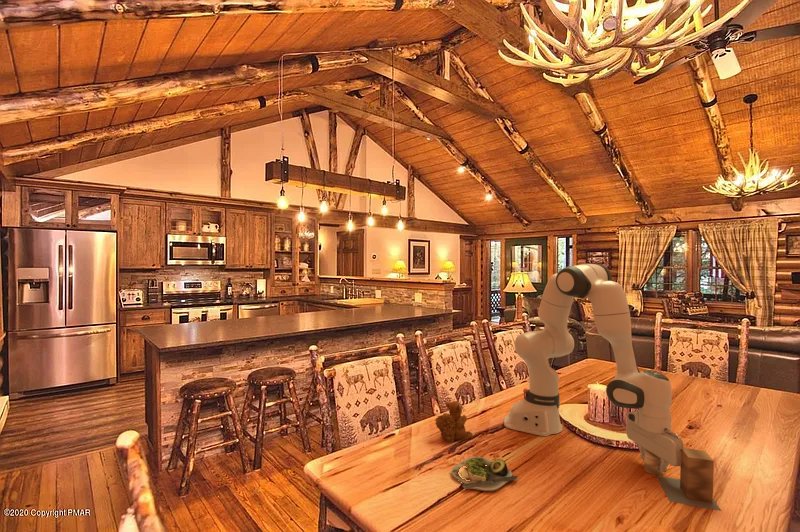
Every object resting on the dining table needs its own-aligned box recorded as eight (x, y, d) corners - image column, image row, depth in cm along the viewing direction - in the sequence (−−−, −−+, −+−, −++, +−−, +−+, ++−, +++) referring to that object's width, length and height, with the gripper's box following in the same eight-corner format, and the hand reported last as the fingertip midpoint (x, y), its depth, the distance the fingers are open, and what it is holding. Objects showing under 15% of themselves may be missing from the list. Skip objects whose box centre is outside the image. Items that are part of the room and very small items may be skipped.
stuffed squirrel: (474, 436, 152) (474, 402, 152) (452, 448, 142) (452, 412, 142) (452, 428, 159) (453, 395, 159) (430, 439, 149) (430, 404, 149)
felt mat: (669, 502, 112) (669, 501, 112) (655, 476, 125) (655, 475, 125) (721, 512, 108) (721, 510, 108) (701, 484, 121) (701, 483, 121)
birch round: (646, 474, 126) (646, 456, 126) (642, 466, 131) (642, 448, 131) (664, 477, 125) (665, 458, 124) (660, 469, 129) (660, 451, 129)
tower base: (687, 498, 113) (687, 478, 113) (680, 487, 119) (680, 467, 118) (712, 503, 111) (713, 482, 111) (704, 491, 117) (704, 471, 116)
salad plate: (486, 506, 110) (486, 489, 110) (438, 479, 123) (438, 464, 123) (523, 479, 123) (523, 465, 123) (475, 458, 136) (475, 444, 136)
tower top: (687, 478, 113) (688, 457, 113) (680, 467, 118) (681, 447, 118) (713, 482, 111) (713, 460, 111) (704, 471, 116) (705, 450, 116)
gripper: (691, 436, 118) (690, 482, 118) (639, 410, 138) (638, 449, 138) (673, 437, 117) (672, 484, 117) (622, 411, 137) (622, 451, 137)
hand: (653, 465), depth 128 cm, fingers open, 5 cm apart
